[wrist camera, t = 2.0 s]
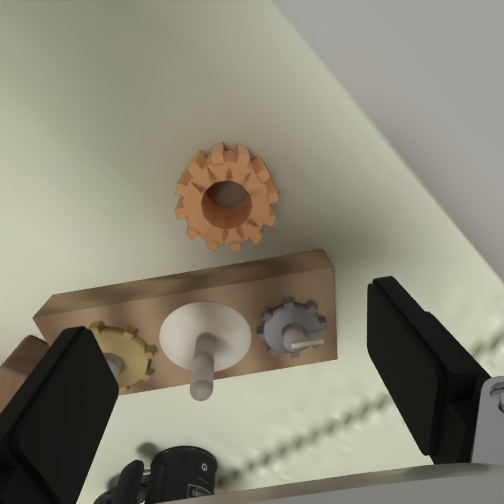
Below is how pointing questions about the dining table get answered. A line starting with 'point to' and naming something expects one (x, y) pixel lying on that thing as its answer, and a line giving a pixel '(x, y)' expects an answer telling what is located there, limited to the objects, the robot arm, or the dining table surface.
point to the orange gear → (218, 218)
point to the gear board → (206, 322)
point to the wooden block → (19, 367)
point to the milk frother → (165, 478)
